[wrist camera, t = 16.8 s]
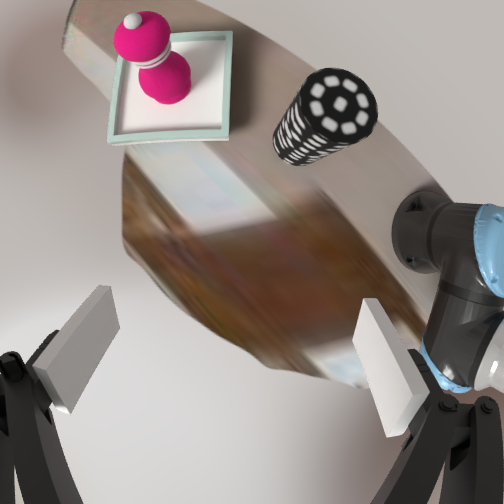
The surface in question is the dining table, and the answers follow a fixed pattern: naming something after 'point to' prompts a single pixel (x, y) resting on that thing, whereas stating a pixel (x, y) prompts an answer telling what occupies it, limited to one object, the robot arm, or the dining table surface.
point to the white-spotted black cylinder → (325, 117)
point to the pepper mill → (153, 56)
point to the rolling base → (185, 111)
